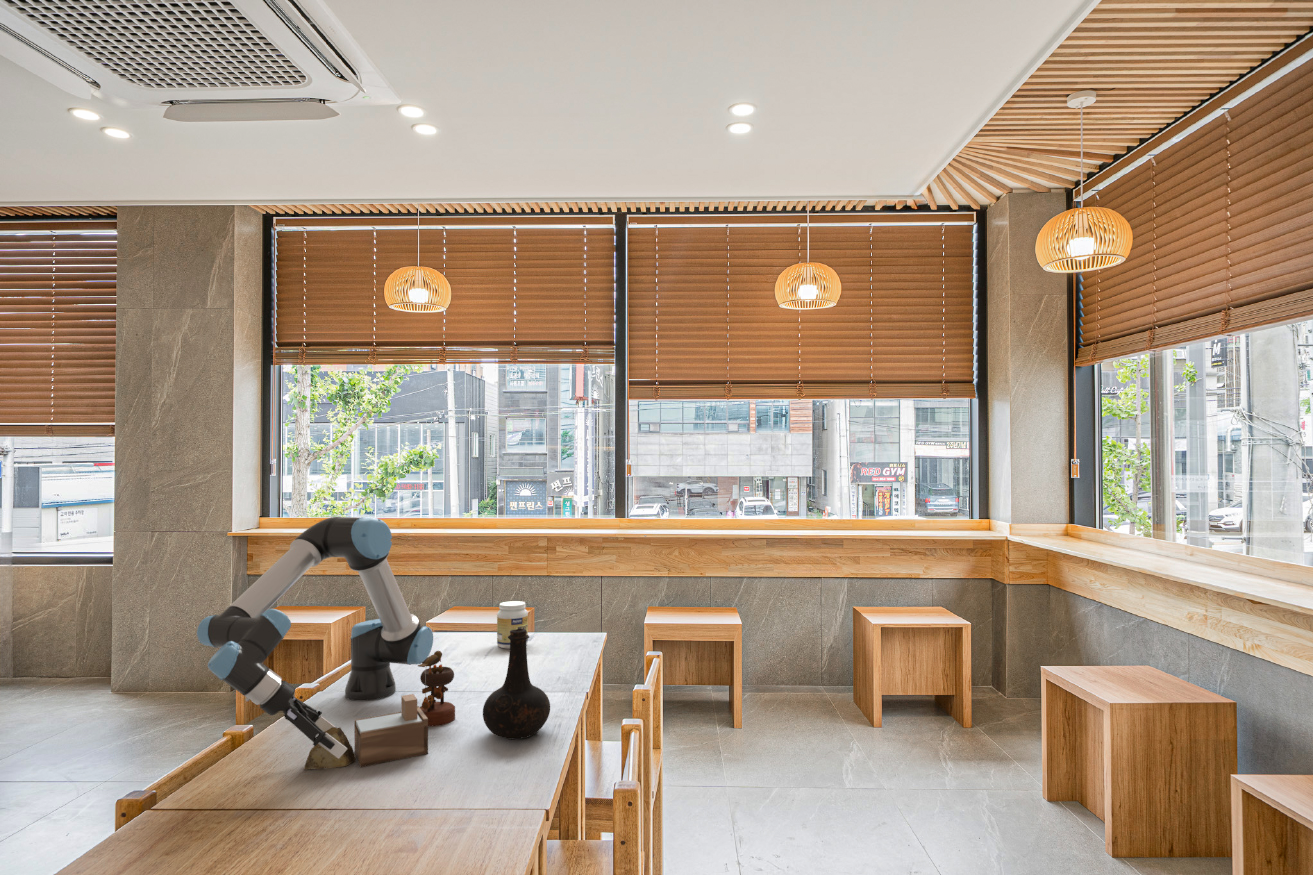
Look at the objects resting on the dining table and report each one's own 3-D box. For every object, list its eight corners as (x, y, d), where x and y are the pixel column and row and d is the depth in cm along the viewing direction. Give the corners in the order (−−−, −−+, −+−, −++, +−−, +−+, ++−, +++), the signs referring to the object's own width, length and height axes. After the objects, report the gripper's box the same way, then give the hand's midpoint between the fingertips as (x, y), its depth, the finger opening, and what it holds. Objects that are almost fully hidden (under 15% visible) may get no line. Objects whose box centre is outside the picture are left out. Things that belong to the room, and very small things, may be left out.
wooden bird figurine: (445, 729, 202) (439, 656, 203) (408, 731, 203) (402, 658, 204) (466, 710, 217) (461, 642, 218) (431, 712, 219) (426, 645, 219)
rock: (291, 765, 173) (328, 762, 171) (303, 728, 179) (338, 725, 177) (319, 777, 181) (354, 775, 179) (329, 742, 187) (363, 739, 185)
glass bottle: (469, 741, 193) (469, 634, 194) (506, 718, 210) (505, 620, 211) (529, 749, 187) (528, 639, 188) (561, 725, 204) (560, 624, 205)
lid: (355, 724, 186) (355, 700, 186) (414, 714, 193) (414, 691, 194) (360, 735, 178) (361, 711, 179) (422, 724, 186) (422, 700, 186)
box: (354, 751, 187) (354, 717, 187) (418, 739, 195) (418, 706, 195) (360, 767, 177) (360, 730, 177) (428, 753, 185) (427, 718, 185)
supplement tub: (512, 650, 285) (512, 607, 286) (490, 646, 292) (490, 604, 293) (534, 644, 296) (534, 602, 296) (512, 640, 302) (512, 599, 303)
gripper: (256, 691, 182) (322, 740, 189) (259, 721, 161) (333, 775, 168) (280, 667, 185) (345, 716, 192) (286, 693, 164) (358, 747, 171)
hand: (339, 744), depth 180 cm, fingers open, 12 cm apart
